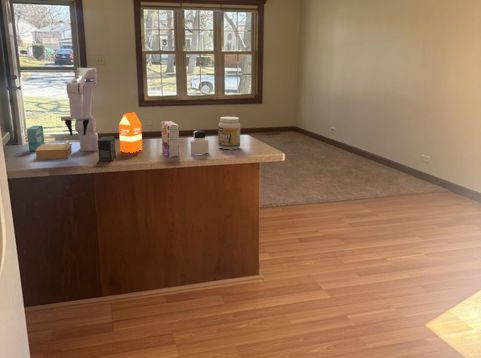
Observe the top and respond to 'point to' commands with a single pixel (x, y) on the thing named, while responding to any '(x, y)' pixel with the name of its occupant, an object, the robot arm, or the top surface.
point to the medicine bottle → (199, 143)
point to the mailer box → (53, 154)
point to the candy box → (170, 138)
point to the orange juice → (130, 133)
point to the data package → (35, 137)
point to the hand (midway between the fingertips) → (78, 135)
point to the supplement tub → (229, 133)
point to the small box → (106, 149)
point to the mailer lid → (54, 147)
